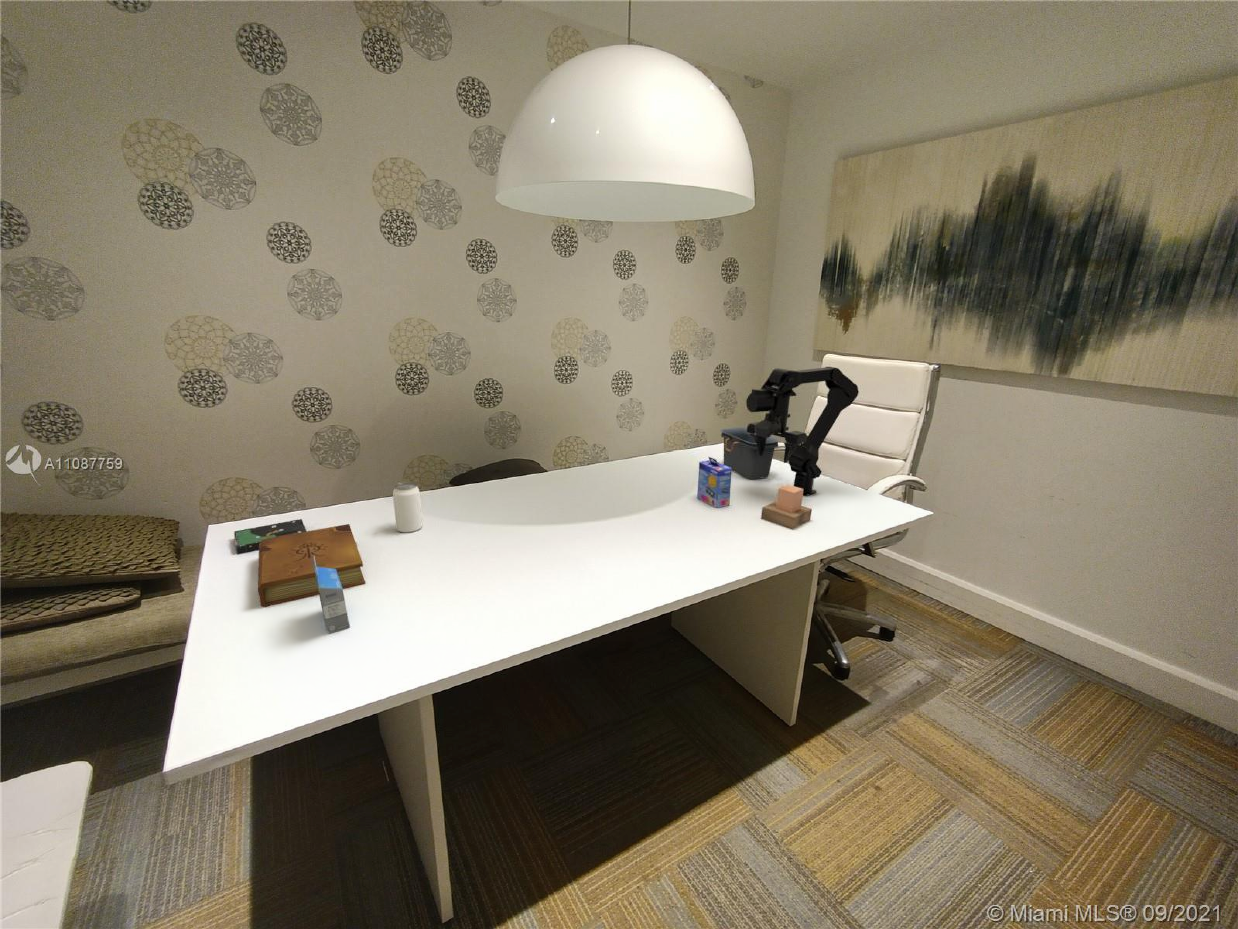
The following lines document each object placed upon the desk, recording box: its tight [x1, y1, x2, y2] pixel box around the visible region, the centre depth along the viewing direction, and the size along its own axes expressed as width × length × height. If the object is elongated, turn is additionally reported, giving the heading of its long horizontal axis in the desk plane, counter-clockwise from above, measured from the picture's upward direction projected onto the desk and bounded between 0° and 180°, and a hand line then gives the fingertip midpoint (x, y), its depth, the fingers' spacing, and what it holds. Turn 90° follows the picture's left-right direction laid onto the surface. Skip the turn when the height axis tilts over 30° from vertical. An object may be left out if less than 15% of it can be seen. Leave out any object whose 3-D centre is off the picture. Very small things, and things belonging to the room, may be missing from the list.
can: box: [392, 481, 423, 534], centre depth 140 cm, size 6×6×12 cm
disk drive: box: [233, 518, 307, 555], centre depth 133 cm, size 10×3×15 cm
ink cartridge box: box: [696, 456, 733, 509], centre depth 164 cm, size 10×6×14 cm, turn 30°
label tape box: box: [314, 555, 351, 634], centre depth 100 cm, size 9×4×12 cm, turn 33°
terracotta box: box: [776, 484, 804, 513], centre depth 153 cm, size 5×5×6 cm
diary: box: [257, 523, 366, 608], centre depth 118 cm, size 23×19×6 cm
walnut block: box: [760, 500, 813, 530], centre depth 154 cm, size 10×10×4 cm
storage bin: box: [720, 426, 781, 480], centre depth 194 cm, size 21×16×14 cm
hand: (772, 459), depth 169 cm, fingers open, 9 cm apart
